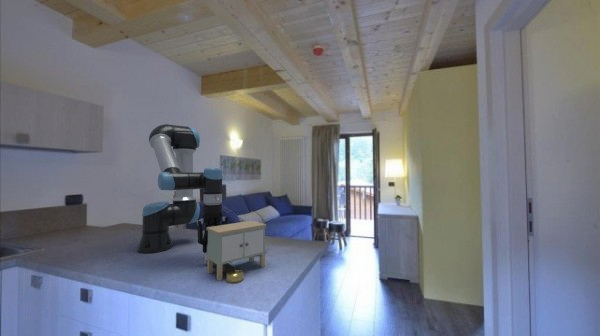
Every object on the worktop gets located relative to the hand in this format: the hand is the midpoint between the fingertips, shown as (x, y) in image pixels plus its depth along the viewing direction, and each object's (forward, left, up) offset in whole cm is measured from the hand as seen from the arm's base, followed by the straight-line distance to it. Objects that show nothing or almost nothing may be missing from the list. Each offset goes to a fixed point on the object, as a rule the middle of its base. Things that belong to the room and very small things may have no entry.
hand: (212, 258), depth 103 cm
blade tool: (+8, 0, -1) cm, 8 cm away
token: (+20, 0, -2) cm, 21 cm away
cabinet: (+12, +5, -2) cm, 14 cm away
